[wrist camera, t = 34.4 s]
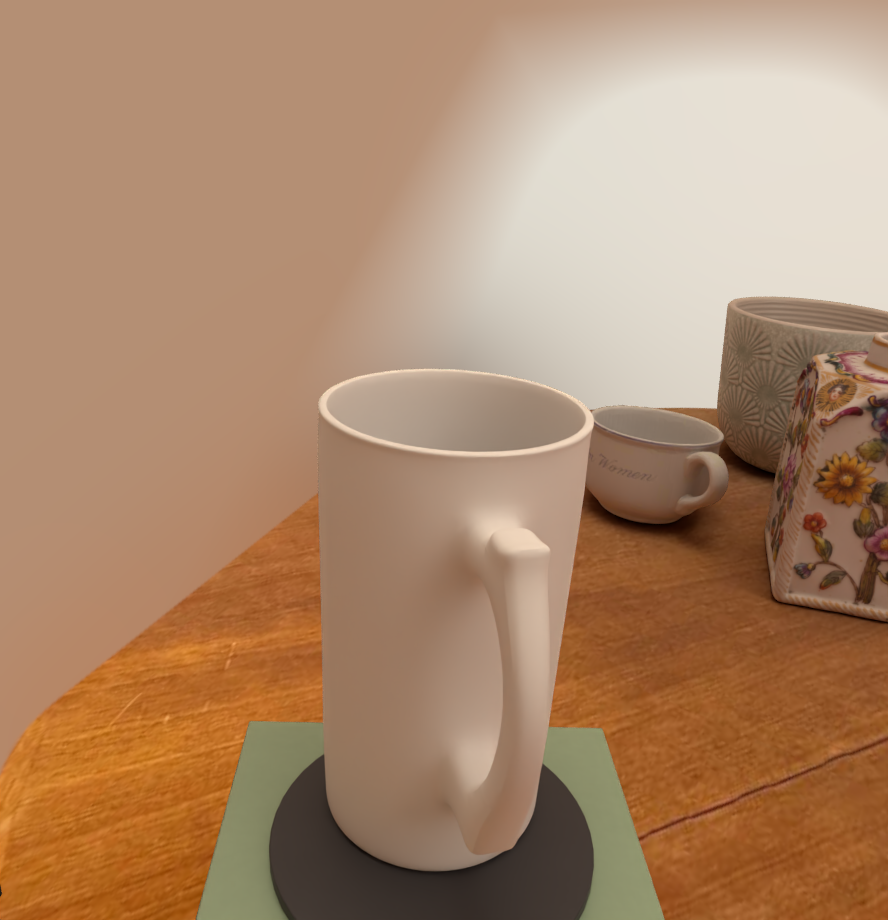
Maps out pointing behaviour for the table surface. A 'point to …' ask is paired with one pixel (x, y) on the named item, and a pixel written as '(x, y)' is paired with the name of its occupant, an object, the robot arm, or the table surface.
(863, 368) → the decorative jar
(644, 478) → the teacup
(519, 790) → the mug
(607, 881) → the warmer
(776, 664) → the table surface
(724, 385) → the planter
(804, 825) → the table surface
